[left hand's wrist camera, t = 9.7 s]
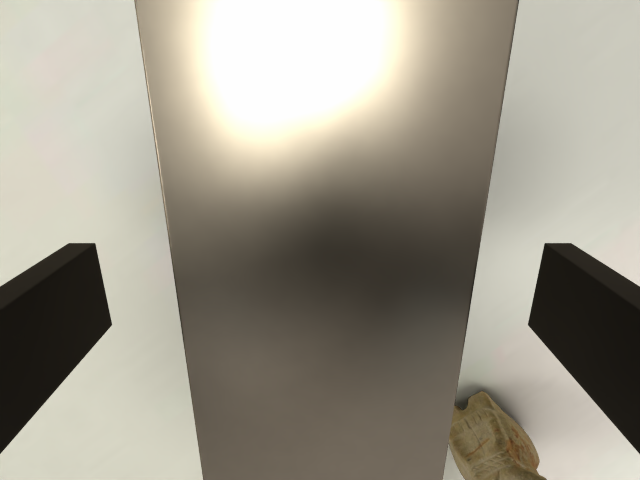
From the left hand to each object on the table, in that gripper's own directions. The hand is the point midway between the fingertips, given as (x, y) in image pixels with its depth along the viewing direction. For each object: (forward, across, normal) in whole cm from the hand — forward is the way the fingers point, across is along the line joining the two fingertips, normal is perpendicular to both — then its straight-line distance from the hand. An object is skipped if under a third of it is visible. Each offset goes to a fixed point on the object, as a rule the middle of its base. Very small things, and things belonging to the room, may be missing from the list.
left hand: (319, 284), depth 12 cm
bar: (+3, 0, -9) cm, 9 cm away
